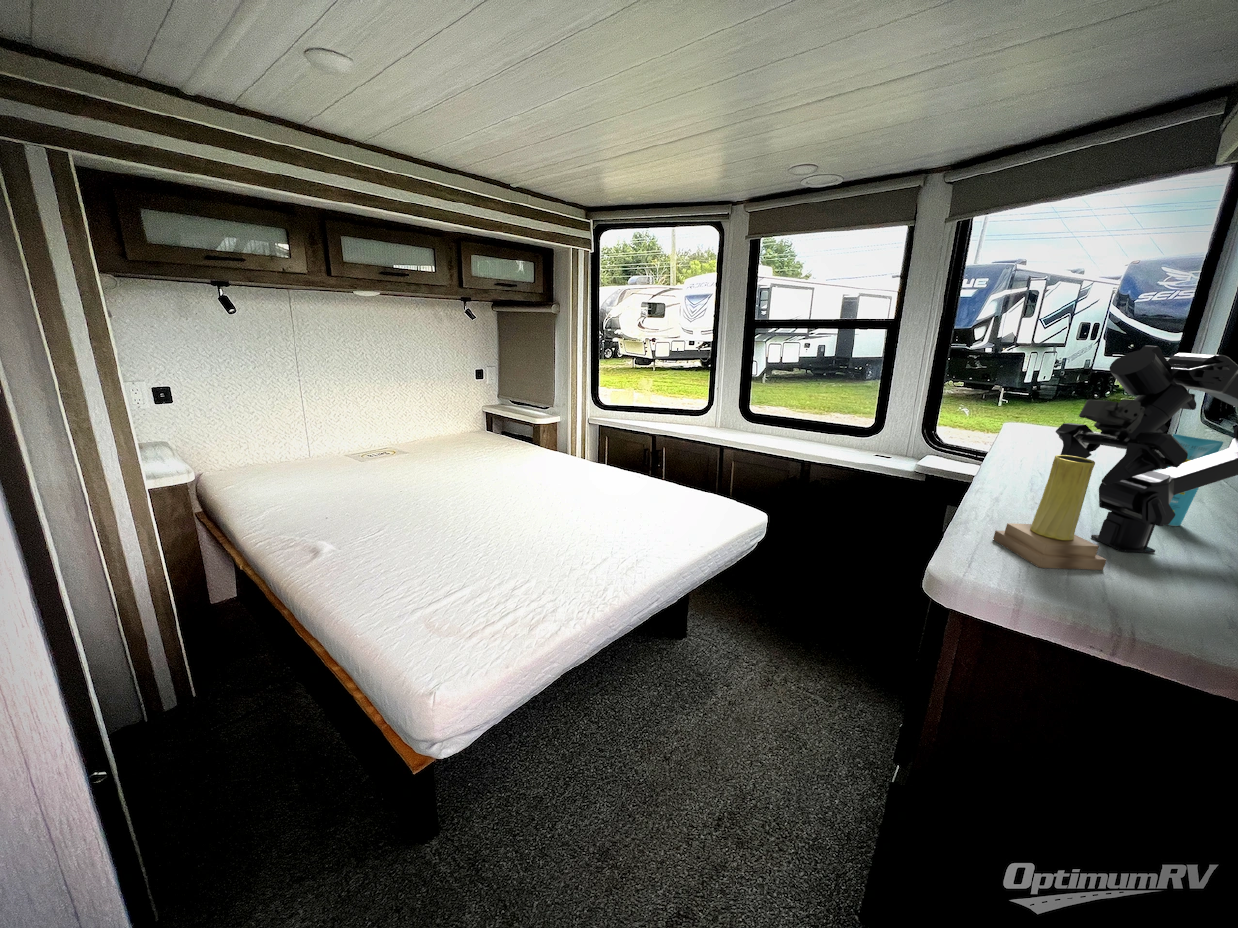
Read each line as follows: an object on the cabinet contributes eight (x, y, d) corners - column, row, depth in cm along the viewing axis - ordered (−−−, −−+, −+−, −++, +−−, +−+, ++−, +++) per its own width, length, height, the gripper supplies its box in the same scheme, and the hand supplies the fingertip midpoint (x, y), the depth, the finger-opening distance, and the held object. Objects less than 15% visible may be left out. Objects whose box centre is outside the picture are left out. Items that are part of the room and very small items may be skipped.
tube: (1136, 516, 108) (1167, 433, 102) (1146, 514, 109) (1178, 432, 104) (1183, 530, 101) (1219, 442, 95) (1193, 527, 103) (1230, 440, 97)
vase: (1023, 525, 91) (1044, 452, 87) (1061, 529, 89) (1085, 456, 85) (1040, 538, 85) (1064, 461, 81) (1081, 543, 84) (1108, 465, 79)
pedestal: (1049, 541, 94) (1055, 522, 92) (1102, 569, 83) (1110, 548, 82) (992, 539, 94) (998, 521, 92) (1039, 567, 83) (1045, 546, 82)
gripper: (1069, 381, 93) (1008, 441, 95) (1180, 383, 75) (1101, 458, 77) (1106, 418, 95) (1044, 477, 97) (1223, 429, 76) (1144, 501, 78)
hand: (1078, 477), depth 87 cm, fingers open, 9 cm apart
